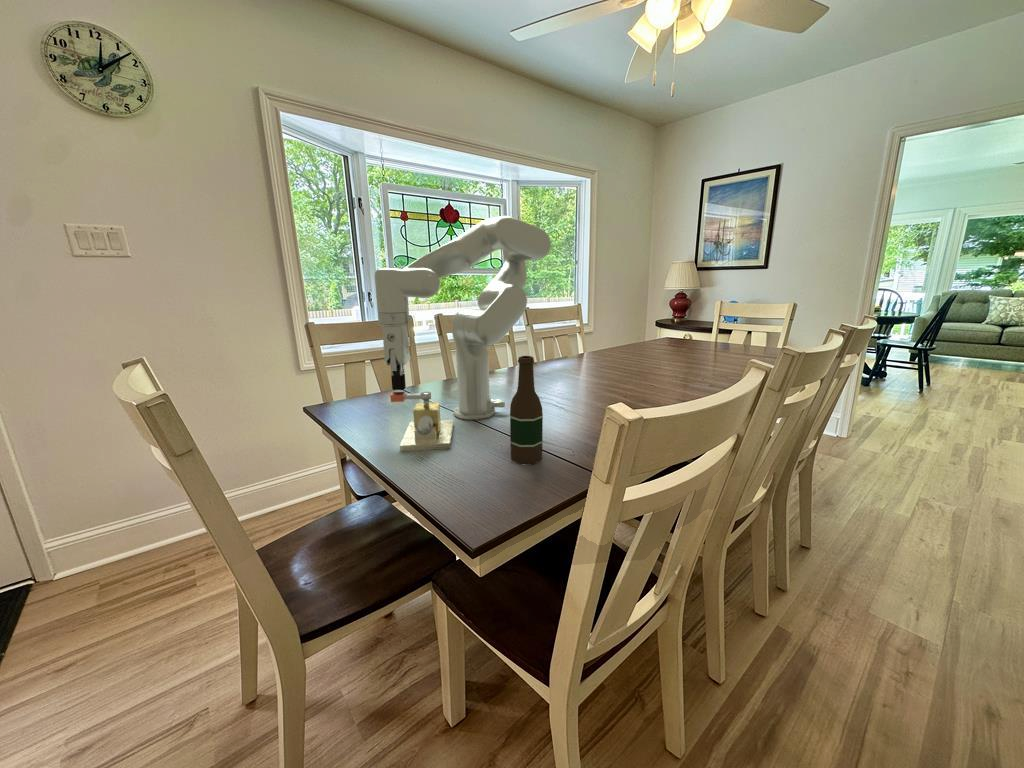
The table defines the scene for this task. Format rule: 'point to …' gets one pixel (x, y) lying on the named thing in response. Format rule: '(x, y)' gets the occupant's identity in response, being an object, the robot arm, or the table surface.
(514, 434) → the beer bottle
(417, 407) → the valve stand
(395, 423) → the table surface
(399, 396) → the valve lever
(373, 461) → the table surface
